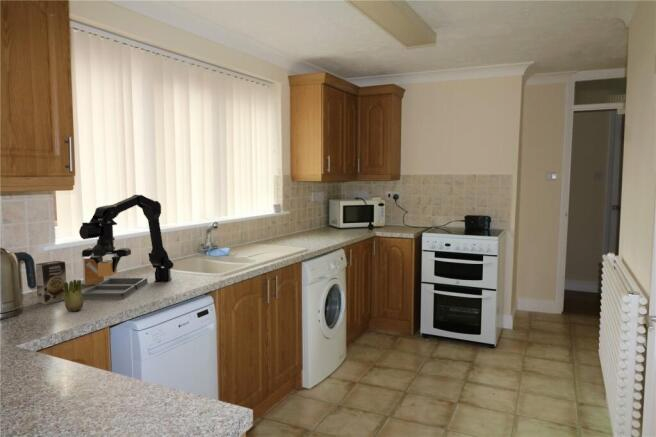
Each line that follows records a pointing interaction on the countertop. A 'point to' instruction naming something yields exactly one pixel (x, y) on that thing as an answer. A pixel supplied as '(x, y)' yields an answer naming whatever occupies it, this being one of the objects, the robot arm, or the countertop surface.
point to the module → (106, 268)
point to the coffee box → (50, 281)
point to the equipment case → (125, 281)
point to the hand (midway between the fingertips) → (107, 272)
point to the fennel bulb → (73, 296)
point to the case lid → (108, 292)
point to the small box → (91, 272)
